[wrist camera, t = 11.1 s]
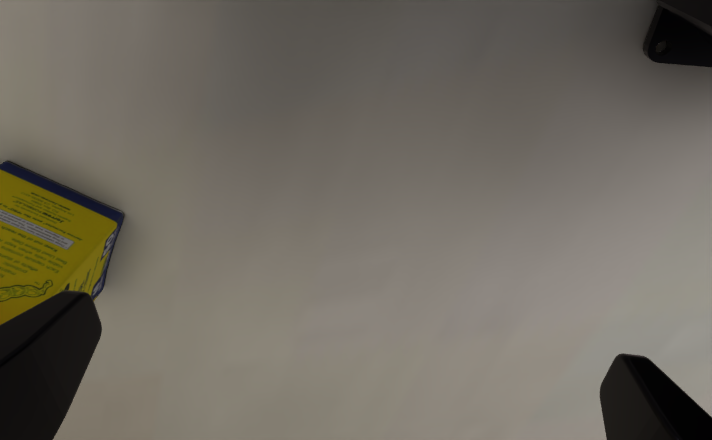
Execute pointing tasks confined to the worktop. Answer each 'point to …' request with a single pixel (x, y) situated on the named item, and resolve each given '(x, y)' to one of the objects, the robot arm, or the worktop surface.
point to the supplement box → (50, 240)
